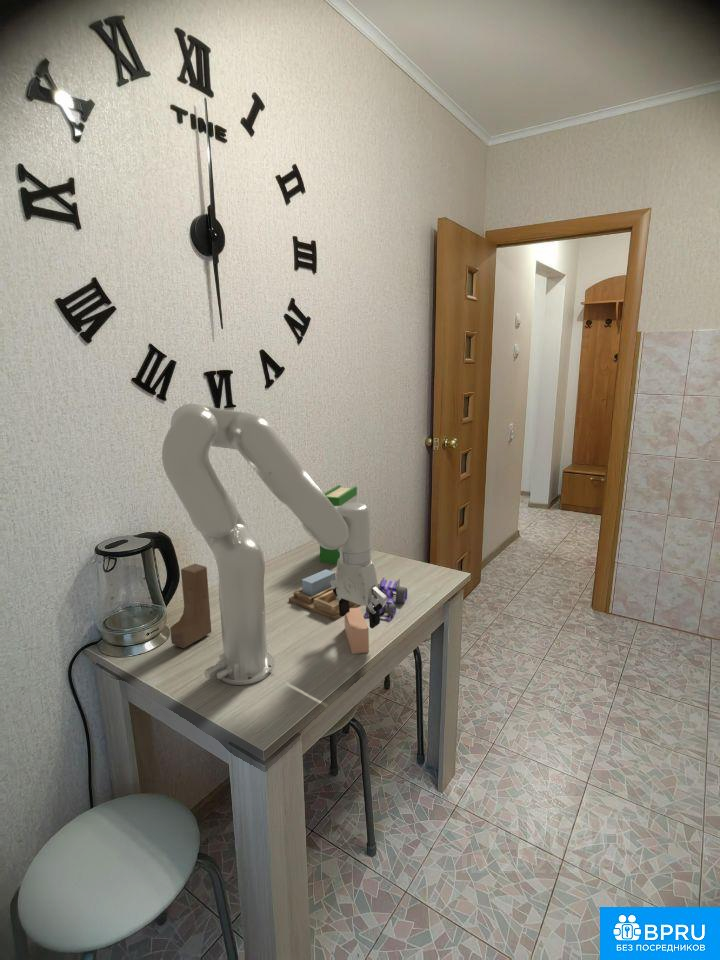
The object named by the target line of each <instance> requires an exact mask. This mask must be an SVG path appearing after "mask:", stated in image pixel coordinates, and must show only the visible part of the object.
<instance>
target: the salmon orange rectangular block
mask: <svg viewBox="0 0 720 960" xmlns="http://www.w3.org/2000/svg"><path fill="white" fill-rule="evenodd" d="M361 609H362V608H361V607H357V608H350V611H349V612H347V613H346V615H344V632H345V635H346V638H347V641H348V645H349V648H350V651H351V654H352V655H355V654H363V653H365V654H366V653H369V652H370V649H369V648H370V646H369V645H370V643H369V641H370V640H369V639H370V638H369V635H370V634H369V632H370V631H369V629H370V628H369V626H368V624H367V622H366V620H365V619H366V618H365V617H364V615H363V612H362V610H361Z"/></svg>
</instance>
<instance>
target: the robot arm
mask: <svg viewBox="0 0 720 960" xmlns="http://www.w3.org/2000/svg"><path fill="white" fill-rule="evenodd" d="M211 447H214V448H222V449H231V450H237V451H238V452H239V454H240V455H241V456H242V457H243V459H244V460H245V461H246V462H247V465H249V466H250V468H252V470H253V471H254V472H255V473H256V474H257V476H258V477H259V478H260V479H261V481H262V482H263V483H264V485H265V486H266V487H267V488H268V489H269V491H270V492H271V493H272V494H273V495H274V496H275V498H276V499H278V500H279V501H280V502H281V503H282V504H283V505H284V506H286V507H287V508H288V510H290V511H291V512H292V513H293V515H295V517H296V518H298V519H299V521H300V523H302V529H304V531H305V532H306V534H308V536H310V537H311V539H313V540H314V541H315V542H316V543H317V544H318V545H319V547H320V546H321V547H323V548H325V549H328V550H335V549H338V551H340V558H339V559H338V562H337V564H336V568H335V569H336V571H335V573H336V579H333V580H331V581H330V584H331V586H332V588H333V592H334V594H335V595H336V600H337V601H339V615H340V616H341V617H345V615H346V613H347V612H349V611H350V608H349V601H350V602H353V603H356V604H359V605H360V606H363V607H366V605H367V606H368V608H369V609H370V611H371V612H370V613H369V618H368V621H369V627H370V628H369V629H374V628H376V627H377V626H378V625H380V623H381V620H380V617H381V614H380V610H381V609H382V608H383V607H384V606H385V604H386V602H387V600H388V597H387V596H386V595H385V594H383V593H382V592H381V591H380V590H379V589H378V584H379V583H378V577H377V571H376V567H375V562H374V560H372V559H373V557H372V542H371V539H372V538H371V521H370V520H371V519H370V517H371V515H370V510H369V507H368V506H367V505H366V504H364V503H362V502H357V503H347V504H344V505H342V506H333V504H332V503H331V502H330V501H329V499H328V498H327V497H326V496H325V494H324V493H325V492H324V491H323V490H321V489H320V487H319V486H318V485H317V484H316V483H315V481H314V479H313V478H312V477H311V476H310V474H309V473H308V472H307V471H306V470H305V469H304V467H303V466H302V464H301V463H300V462H299V461H298V459H297V458H296V457H295V456H294V454H293V453H292V452H291V451H290V449H289V447H287V446H286V444H285V442H283V440H282V439H281V438H280V436H279V435H278V433H277V432H276V431H275V430H274V428H273V427H272V425H270V423H269V422H268V421H267V420H266V419H264V418H263V417H261V416H258V415H256V414H253V413H249V412H242V411H235V410H229V409H228V410H227V409H224V408H219V407H218V408H217V407H212V406H209V405H208V406H207V405H202V404H197V403H187V404H183V405H181V406H179V407H178V408H177V409H176V410H175V411H174V413H173V414H172V415H171V419H170V427H169V429H168V431H167V433H166V435H165V438H164V441H163V443H162V449H161V460H162V467H163V469H164V472H165V474H166V477H167V479H168V481H169V482H170V484H171V486H172V487H173V489H174V491H175V493H176V495H177V496H178V498H179V500H180V502H181V503H182V505H183V507H184V508H185V511H186V512H187V513H188V515H189V518H190V521H191V523H192V525H193V526H194V528H195V529H196V530H197V531H198V532H199V533H200V535H201V536H202V537H203V539H204V540H205V542H206V544H207V545H208V548H209V549H210V550H211V552H212V554H213V556H214V558H215V562H216V565H217V569H218V570H217V571H218V594H219V595H218V597H219V609H220V625H221V638H222V652H223V653H222V654H220V655H219V656H218V658H219V659H218V660H219V661H217V662H216V663H215V664H214V665H212V666H210V667H208V668H206V669H205V670H203V672H204V673H203V674H204V676H205V678H207V679H210V678H212V677H214V676H215V675H216V677H217V679H218V680H221V681H222V682H224V683H227V684H229V685H235V686H245V685H251V684H255V683H258V682H260V681H262V680H264V679H266V678H267V677H268V676H270V674H271V673H272V671H273V669H274V668H275V658H274V656H273V655H272V654H271V653H269V652H268V645H267V643H268V642H267V627H266V626H267V624H266V609H265V608H266V603H265V570H266V562H265V561H266V559H265V555H264V551H263V549H262V547H261V545H260V543H259V541H257V539H256V538H255V537H254V535H253V534H252V533H251V531H250V529H249V528H248V526H247V524H246V523H245V521H244V519H243V517H242V516H241V514H240V512H239V510H238V508H237V505H236V503H235V501H234V499H233V498H232V497H231V495H230V494H229V492H227V490H226V489H225V488H224V485H222V482H221V481H220V479H219V477H218V475H217V473H216V471H215V469H214V467H213V466H212V463H211V462H210V457H209V455H210V454H209V453H210V449H211ZM377 598H378V599H379V601H378V600H377ZM372 601H373V603H374V604H375V607H374V606H373V605H372V603H371V602H372ZM341 617H340V618H341Z"/></svg>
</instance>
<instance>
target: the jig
mask: <svg viewBox="0 0 720 960" xmlns="http://www.w3.org/2000/svg"><path fill="white" fill-rule="evenodd" d="M288 602H290V603H293V604H295V605H297V606H299V607H302V608H304V609H306V610H309V611H310V612H313V613H316V614H318V615H321V616H323V617H325V618H327V619H330V620H332V621H336V620H338V619H340V618H341V616H340V615H339V601H337V600H336V595H335V594H334V592H333V588H332V587H330V588H328V589H326V590H324V591H322V592H320V593H318V594H316V595H314V596H312V597H311V596H308V595H306V594H303V593H302V587H300V588H298V589H297V590H294V591H293V595H292V596H290V597H288ZM359 607H361V605H359V604H356V603H353V602H350V601H349V608H359Z"/></svg>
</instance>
